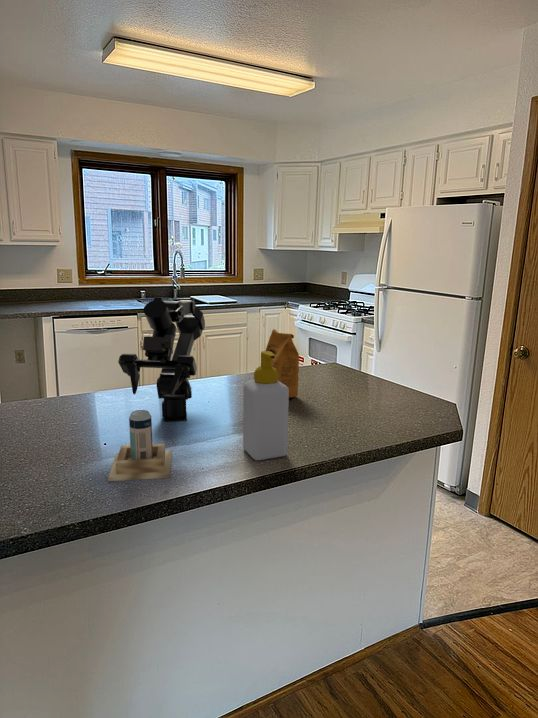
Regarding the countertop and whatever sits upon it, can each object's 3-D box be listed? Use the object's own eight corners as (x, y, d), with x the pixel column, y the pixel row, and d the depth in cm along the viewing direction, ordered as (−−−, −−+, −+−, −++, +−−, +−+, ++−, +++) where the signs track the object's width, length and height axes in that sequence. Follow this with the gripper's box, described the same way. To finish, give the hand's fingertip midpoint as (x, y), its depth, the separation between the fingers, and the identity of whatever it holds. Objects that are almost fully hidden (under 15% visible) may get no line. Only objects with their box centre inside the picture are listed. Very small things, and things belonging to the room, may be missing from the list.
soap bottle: (254, 462, 117) (255, 357, 112) (241, 448, 125) (241, 349, 120) (289, 456, 121) (292, 354, 115) (274, 443, 129) (276, 347, 123)
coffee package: (282, 389, 177) (284, 327, 172) (301, 398, 166) (303, 333, 161) (257, 392, 172) (258, 329, 167) (275, 402, 162) (277, 335, 157)
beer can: (157, 460, 116) (155, 411, 113) (144, 468, 111) (142, 417, 109) (139, 457, 117) (137, 408, 115) (126, 465, 113) (124, 414, 110)
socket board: (171, 453, 122) (171, 440, 121) (170, 477, 109) (169, 463, 108) (116, 456, 120) (115, 443, 119) (108, 481, 107) (107, 466, 106)
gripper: (118, 322, 124) (104, 376, 116) (193, 323, 124) (185, 379, 115) (130, 346, 134) (118, 399, 126) (199, 348, 133) (192, 401, 125)
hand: (152, 394), depth 123 cm, fingers open, 9 cm apart
